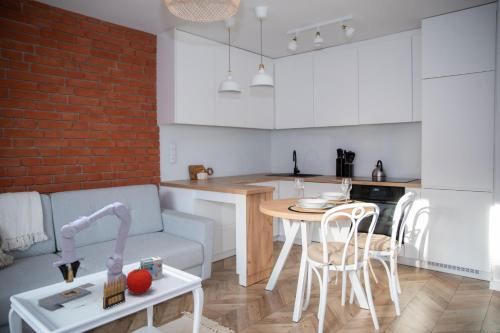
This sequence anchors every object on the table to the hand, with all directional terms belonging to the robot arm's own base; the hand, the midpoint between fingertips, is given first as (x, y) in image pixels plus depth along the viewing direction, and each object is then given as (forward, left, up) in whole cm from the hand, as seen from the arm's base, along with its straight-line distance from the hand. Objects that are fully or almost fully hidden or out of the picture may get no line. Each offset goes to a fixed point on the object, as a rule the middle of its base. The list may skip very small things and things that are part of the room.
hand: (69, 278), depth 175 cm
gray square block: (+6, -12, -10) cm, 17 cm away
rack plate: (0, +2, -10) cm, 10 cm away
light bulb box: (-11, -40, -10) cm, 43 cm away
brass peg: (0, 0, -2) cm, 2 cm away
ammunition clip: (-24, -7, -10) cm, 27 cm away
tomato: (-22, -23, -10) cm, 33 cm away
